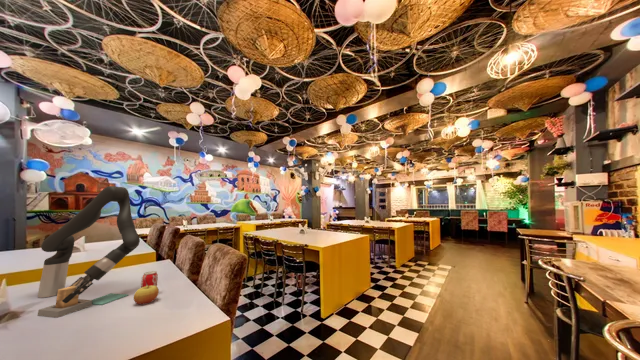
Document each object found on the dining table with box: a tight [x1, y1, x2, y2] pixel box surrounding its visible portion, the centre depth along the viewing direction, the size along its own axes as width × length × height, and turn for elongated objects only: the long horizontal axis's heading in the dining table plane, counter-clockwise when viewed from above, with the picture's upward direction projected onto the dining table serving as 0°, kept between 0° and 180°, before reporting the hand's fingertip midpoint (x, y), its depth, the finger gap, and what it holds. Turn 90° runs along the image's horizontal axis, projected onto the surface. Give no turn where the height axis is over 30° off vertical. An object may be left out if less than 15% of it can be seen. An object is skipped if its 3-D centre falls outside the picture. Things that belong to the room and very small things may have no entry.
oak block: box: [55, 285, 80, 309], centre depth 99 cm, size 5×5×10 cm
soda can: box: [140, 270, 159, 288], centre depth 116 cm, size 7×7×12 cm
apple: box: [133, 285, 160, 305], centre depth 106 cm, size 10×10×8 cm
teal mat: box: [91, 292, 129, 306], centre depth 110 cm, size 12×12×1 cm
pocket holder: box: [37, 298, 93, 318], centre depth 99 cm, size 12×12×2 cm
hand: (62, 300), depth 98 cm, fingers closed on oak block, 6 cm apart
